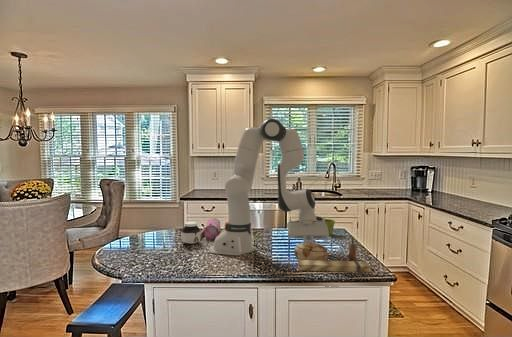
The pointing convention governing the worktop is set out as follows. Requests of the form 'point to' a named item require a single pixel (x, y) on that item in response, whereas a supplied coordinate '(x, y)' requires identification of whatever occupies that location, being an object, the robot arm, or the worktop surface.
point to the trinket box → (310, 251)
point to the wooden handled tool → (352, 251)
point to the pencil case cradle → (203, 232)
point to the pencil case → (212, 228)
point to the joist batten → (334, 266)
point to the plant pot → (330, 225)
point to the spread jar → (190, 233)
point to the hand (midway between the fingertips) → (308, 245)
